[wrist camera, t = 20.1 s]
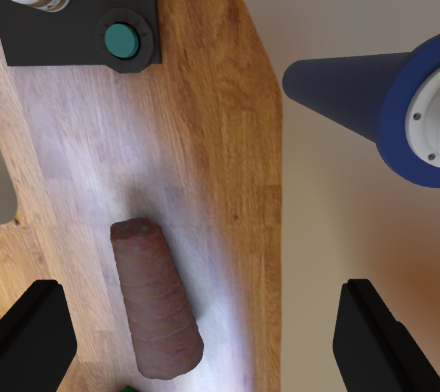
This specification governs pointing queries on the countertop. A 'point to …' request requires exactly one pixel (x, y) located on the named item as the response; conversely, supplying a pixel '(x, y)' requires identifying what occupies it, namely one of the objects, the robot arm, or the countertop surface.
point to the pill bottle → (45, 4)
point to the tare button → (121, 40)
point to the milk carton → (128, 389)
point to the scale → (79, 34)
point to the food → (155, 301)
